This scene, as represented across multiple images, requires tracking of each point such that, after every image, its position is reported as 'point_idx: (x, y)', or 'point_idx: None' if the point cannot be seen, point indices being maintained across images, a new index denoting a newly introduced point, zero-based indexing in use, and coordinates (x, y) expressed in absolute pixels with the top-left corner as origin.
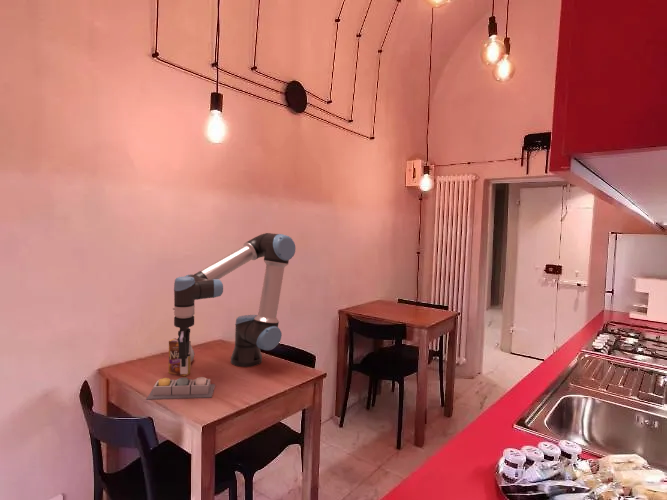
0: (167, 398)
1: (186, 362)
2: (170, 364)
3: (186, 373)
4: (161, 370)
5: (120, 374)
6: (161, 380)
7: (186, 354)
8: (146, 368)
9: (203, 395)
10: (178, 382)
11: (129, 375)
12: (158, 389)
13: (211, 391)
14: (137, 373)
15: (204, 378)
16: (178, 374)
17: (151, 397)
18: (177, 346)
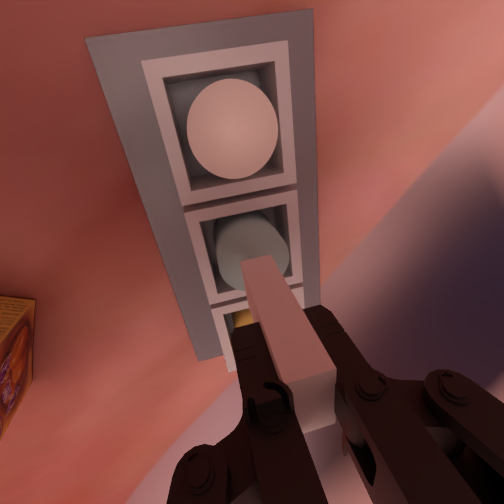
0: (318, 261)
1: (311, 330)
2: (4, 426)
3: (272, 261)
4: None
5: (120, 486)
6: None
7: (423, 433)
8: (21, 467)
9: (293, 81)
10: (281, 270)
11: (118, 467)
12: None
13: (228, 34)
14: (89, 461)
15: (213, 103)
16: (31, 337)
17: None
18: None
